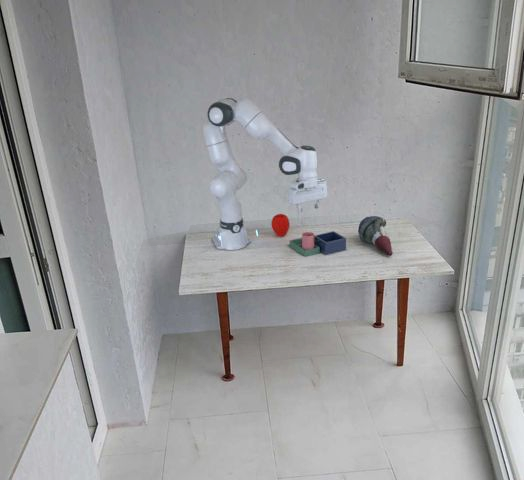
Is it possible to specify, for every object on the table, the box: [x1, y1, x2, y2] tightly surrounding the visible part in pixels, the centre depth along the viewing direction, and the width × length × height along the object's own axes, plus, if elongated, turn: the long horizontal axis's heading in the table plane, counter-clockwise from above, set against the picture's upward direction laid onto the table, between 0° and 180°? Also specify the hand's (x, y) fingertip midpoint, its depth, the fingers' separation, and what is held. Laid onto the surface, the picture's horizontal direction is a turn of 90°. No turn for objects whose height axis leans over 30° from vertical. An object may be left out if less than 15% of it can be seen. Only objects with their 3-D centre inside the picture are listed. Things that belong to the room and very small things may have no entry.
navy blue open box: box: [314, 230, 347, 256], centre depth 288 cm, size 12×12×6 cm
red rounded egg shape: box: [270, 213, 290, 238], centre depth 305 cm, size 10×10×12 cm
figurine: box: [357, 215, 394, 257], centre depth 288 cm, size 29×17×15 cm
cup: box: [301, 231, 315, 250], centre depth 285 cm, size 6×6×10 cm
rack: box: [289, 237, 321, 257], centre depth 290 cm, size 16×8×3 cm, turn 26°
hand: (308, 209), depth 275 cm, fingers open, 8 cm apart
